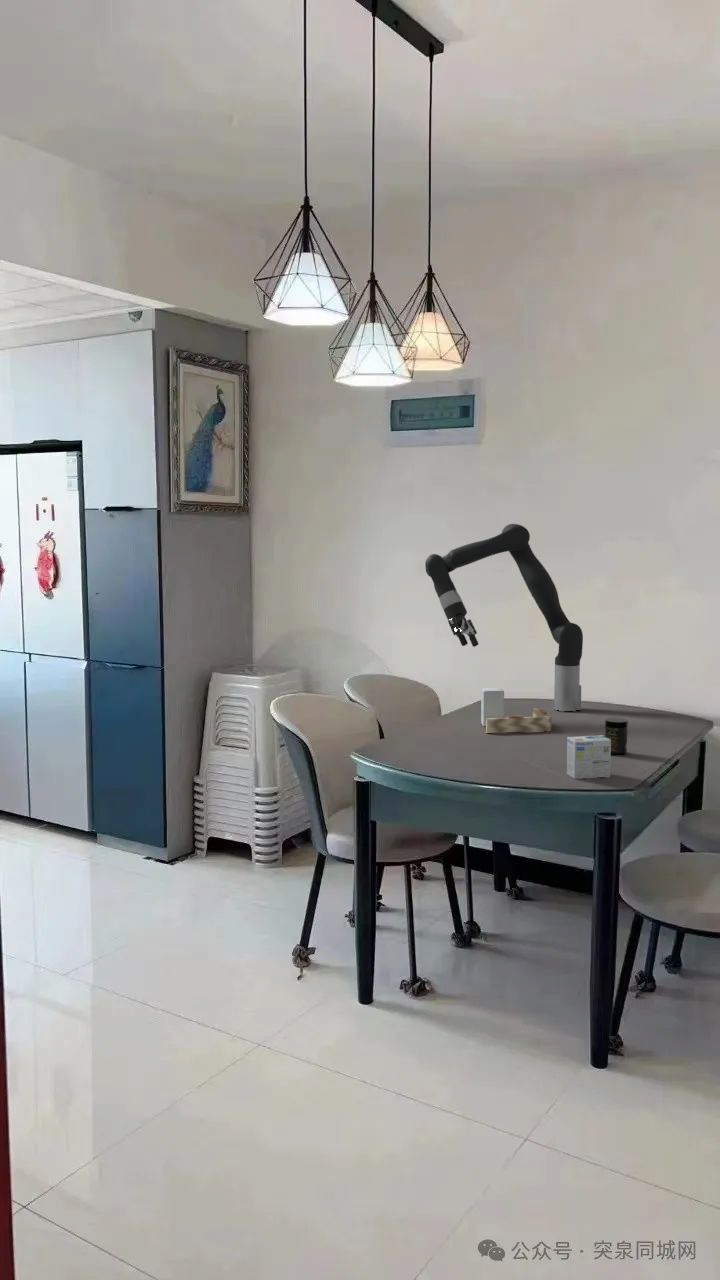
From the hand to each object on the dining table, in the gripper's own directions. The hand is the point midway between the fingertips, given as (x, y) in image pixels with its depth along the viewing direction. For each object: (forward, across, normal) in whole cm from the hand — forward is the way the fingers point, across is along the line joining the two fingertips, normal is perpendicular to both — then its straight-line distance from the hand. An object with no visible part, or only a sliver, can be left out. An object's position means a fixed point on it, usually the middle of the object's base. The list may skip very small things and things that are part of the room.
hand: (470, 645), depth 350 cm
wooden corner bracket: (+33, -2, -2) cm, 33 cm away
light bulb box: (+62, -51, -38) cm, 89 cm away
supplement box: (+29, -1, +5) cm, 29 cm away
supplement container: (+57, -21, -38) cm, 72 cm away
